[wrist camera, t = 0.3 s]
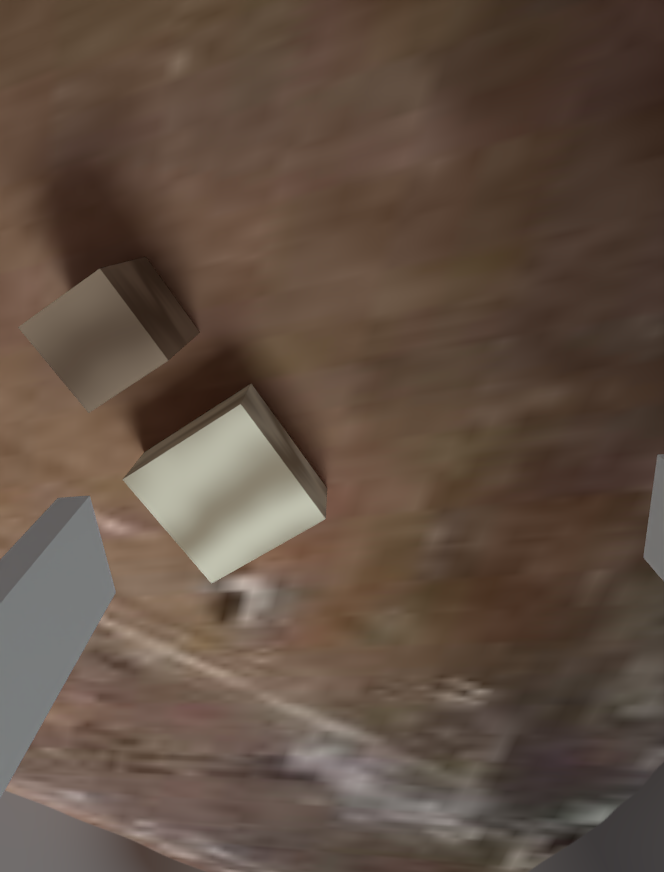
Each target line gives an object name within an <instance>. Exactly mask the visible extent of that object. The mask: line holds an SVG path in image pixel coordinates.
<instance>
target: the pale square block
mask: <svg viewBox="0 0 664 872" xmlns="http://www.w3.org/2000/svg"><path fill="white" fill-rule="evenodd" d="M123 481H124V482H125V483H126V484H127V485H128V487H129V488H130V489H131V490H132V491H133V492H134V494H135V495H136V496H137V497H138V498H139V499H140V501H141V502H142V503H143V504H144V505H145V506H146V508H147V509H148V510H149V511H150V512H151V513H152V515H153V516H154V517H155V518H156V519H157V520H158V522H159V523H160V524H161V525H162V526H163V527H164V529H165V530H166V531H167V532H168V533H169V534H170V536H171V537H172V538H173V539H174V540H175V541H176V543H177V544H178V545H179V546H180V547H181V548H182V550H183V551H184V552H185V553H186V554H187V555H188V557H189V558H190V559H191V560H192V561H193V562H194V564H195V565H196V566H197V567H198V568H199V569H200V571H201V572H202V573H203V574H204V575H205V576H206V578H207V579H208V580H209V581H210V582H211V583H213V582H215V581H217V580H219V579H220V578H222V577H224V576H226V575H227V574H229V573H231V572H233V571H234V570H236V569H238V568H240V567H242V566H243V565H245V564H247V563H249V562H250V561H252V560H254V559H256V558H257V557H259V556H261V555H263V554H264V553H266V552H268V551H270V550H272V549H273V548H275V547H277V546H279V545H280V544H282V543H284V542H286V541H287V540H289V539H291V538H293V537H295V536H296V535H298V534H300V533H302V532H303V531H305V530H307V529H309V528H310V527H312V526H314V525H316V524H317V523H319V522H321V521H323V520H325V519H326V502H327V488H326V486H325V485H324V483H323V482H322V481H321V479H320V478H319V476H318V475H317V474H316V472H315V471H314V470H313V468H312V467H311V465H310V464H309V463H308V461H307V460H306V459H305V457H304V456H303V454H302V453H301V452H300V450H299V449H298V447H297V446H296V445H295V443H294V442H293V441H292V439H291V438H290V436H289V435H288V434H287V432H286V431H285V429H284V428H283V427H282V425H281V424H280V423H279V421H278V420H277V418H276V417H275V416H274V414H273V413H272V411H271V410H270V409H269V407H268V406H267V405H266V403H265V402H264V400H263V399H262V398H261V396H260V395H259V394H258V392H257V391H256V389H255V388H254V387H253V385H252V384H250V385H248V386H246V387H245V388H243V389H242V390H240V391H239V392H237V393H236V394H234V395H233V396H231V397H229V398H228V399H226V400H225V401H223V402H222V403H220V404H219V405H217V406H215V407H214V408H212V409H211V410H209V411H208V412H206V413H205V414H203V415H202V416H200V417H198V418H197V419H195V420H194V421H192V422H191V423H189V424H188V425H186V426H184V427H183V428H181V429H180V430H178V431H177V432H175V433H174V434H172V435H171V436H169V437H167V438H166V439H164V440H163V441H161V442H160V443H158V444H157V445H155V446H153V447H152V448H150V449H149V450H147V451H146V452H144V453H143V455H142V456H141V457H140V458H139V460H138V461H137V462H136V463H135V465H134V466H133V467H132V468H131V470H130V471H129V472H128V473H127V475H126V476H125V477H124V478H123Z"/></svg>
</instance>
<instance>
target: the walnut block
mask: <svg viewBox="0 0 664 872" xmlns="http://www.w3.org/2000/svg"><path fill="white" fill-rule="evenodd" d="M18 328H19V329H20V330H21V331H22V333H23V334H24V335H25V336H26V337H27V339H28V340H29V341H30V342H31V344H32V345H33V346H34V347H35V348H36V350H37V351H38V352H39V353H40V354H41V356H42V357H43V358H44V359H45V361H46V362H47V363H48V364H49V365H50V367H51V368H52V369H53V370H54V372H55V373H56V374H57V375H58V376H59V378H60V379H61V380H62V381H63V382H64V384H65V385H66V386H67V387H68V389H69V390H70V391H71V392H72V393H73V395H74V396H75V397H76V398H77V399H78V401H79V402H80V403H81V404H82V406H83V407H84V408H85V409H86V410H87V412H88V413H89V412H91V411H92V410H94V409H95V408H97V407H98V406H100V405H102V404H103V403H105V402H106V401H108V400H109V399H111V398H112V397H114V396H115V395H117V394H118V393H120V392H121V391H123V390H124V389H126V388H127V387H129V386H130V385H132V384H133V383H135V382H136V381H138V380H139V379H141V378H142V377H144V376H146V375H147V374H149V373H150V372H152V371H153V370H155V369H156V368H158V367H159V366H161V365H162V364H164V363H165V362H167V361H168V360H169V359H171V358H172V357H173V356H174V355H175V354H176V353H177V352H178V351H180V350H181V349H182V348H183V347H184V346H185V345H186V344H187V343H189V342H190V341H191V340H192V339H193V338H194V337H195V336H196V335H198V334H199V333H200V332H199V331H198V329H197V328H196V327H195V325H194V324H193V322H192V321H191V320H190V318H189V317H188V315H187V314H186V313H185V311H184V310H183V308H182V307H181V306H180V304H179V303H178V301H177V300H176V299H175V297H174V296H173V294H172V293H171V292H170V290H169V289H168V287H167V286H166V285H165V283H164V282H163V280H162V279H161V278H160V276H159V275H158V273H157V272H156V271H155V269H154V268H153V266H152V265H151V264H150V262H149V261H148V259H147V258H146V257H143V258H139V259H135V260H131V261H127V262H123V263H119V264H115V265H111V266H107V267H103V268H100V269H98V270H97V271H96V272H94V273H93V274H91V275H90V276H89V277H87V278H86V279H84V280H83V281H82V282H80V283H79V284H78V285H76V286H75V287H73V288H72V289H71V290H69V291H68V292H66V293H65V294H64V295H62V296H61V297H60V298H58V299H57V300H55V301H54V302H53V303H51V304H50V305H48V306H47V307H46V308H44V309H43V310H42V311H40V312H39V313H37V314H36V315H35V316H33V317H32V318H30V319H29V320H28V321H26V322H25V323H24V324H22V325H21V326H19V327H18Z"/></svg>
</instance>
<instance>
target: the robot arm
mask: <svg viewBox="0 0 664 872" xmlns="http://www.w3.org/2000/svg"><path fill="white" fill-rule="evenodd" d="M643 558H644V559H645V560H646V561H647V562H648V563H649V565H650V566H651V567H652V568H653V569H654V570H655V572H656V573H657V574H658V575H659V576H660V577H661V579H662V580H663V581H664V454H661V455H657V463H656V470H655V477H654V484H653V492H652V499H651V506H650V513H649V521H648V528H647V535H646V542H645V550H644V557H643ZM115 593H116V591H115V588H114V584H113V580H112V576H111V573H110V569H109V565H108V562H107V558H106V554H105V550H104V547H103V543H102V539H101V536H100V532H99V528H98V525H97V521H96V517H95V513H94V510H93V506H92V502H91V499H90V496H78V497H65V498H57V499H56V501H55V502H54V503H53V504H52V505H51V506H50V507H49V508H48V509H47V510H46V511H45V512H44V513H43V514H42V516H41V517H40V518H39V519H38V520H37V521H36V522H35V523H34V524H33V525H32V526H31V527H30V528H29V530H28V531H27V532H26V533H25V534H24V535H23V536H22V537H21V538H20V539H19V540H18V541H17V542H16V543H15V545H14V546H13V547H12V548H11V549H10V550H9V551H8V552H7V553H6V554H5V555H4V556H3V557H2V559H1V560H0V798H1V796H2V794H3V792H4V791H5V789H6V787H7V785H8V784H9V782H10V780H11V778H12V776H13V775H14V773H15V771H16V769H17V767H18V766H19V764H20V762H21V760H22V759H23V757H24V755H25V753H26V751H27V750H28V748H29V746H30V744H31V743H32V741H33V739H34V737H35V735H36V734H37V732H38V730H39V728H40V726H41V725H42V723H43V721H44V719H45V718H46V716H47V714H48V712H49V710H50V709H51V707H52V705H53V703H54V701H55V700H56V698H57V696H58V694H59V693H60V691H61V689H62V687H63V685H64V684H65V682H66V680H67V678H68V676H69V675H70V673H71V671H72V669H73V668H74V666H75V664H76V662H77V660H78V659H79V657H80V655H81V653H82V652H83V650H84V648H85V646H86V644H87V643H88V641H89V639H90V637H91V635H92V634H93V632H94V630H95V628H96V627H97V625H98V623H99V621H100V619H101V618H102V616H103V614H104V612H105V610H106V609H107V607H108V605H109V603H110V602H111V600H112V598H113V596H114V594H115Z"/></svg>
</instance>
